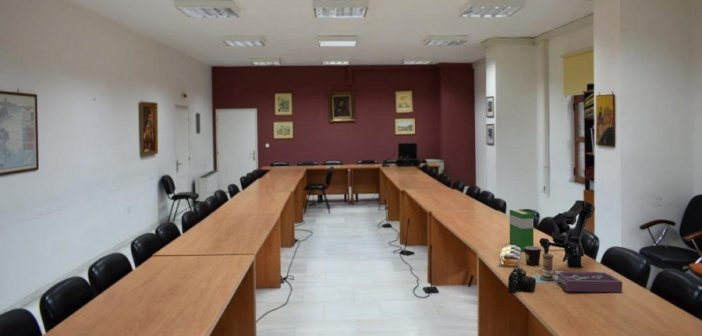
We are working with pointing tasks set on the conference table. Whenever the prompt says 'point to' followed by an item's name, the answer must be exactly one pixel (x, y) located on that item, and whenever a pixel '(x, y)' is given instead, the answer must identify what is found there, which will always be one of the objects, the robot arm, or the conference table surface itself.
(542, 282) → the flat light blue board
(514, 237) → the hardback book
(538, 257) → the coffee mug
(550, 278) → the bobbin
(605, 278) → the book
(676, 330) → the conference table surface
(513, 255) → the diorama
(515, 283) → the film camera
